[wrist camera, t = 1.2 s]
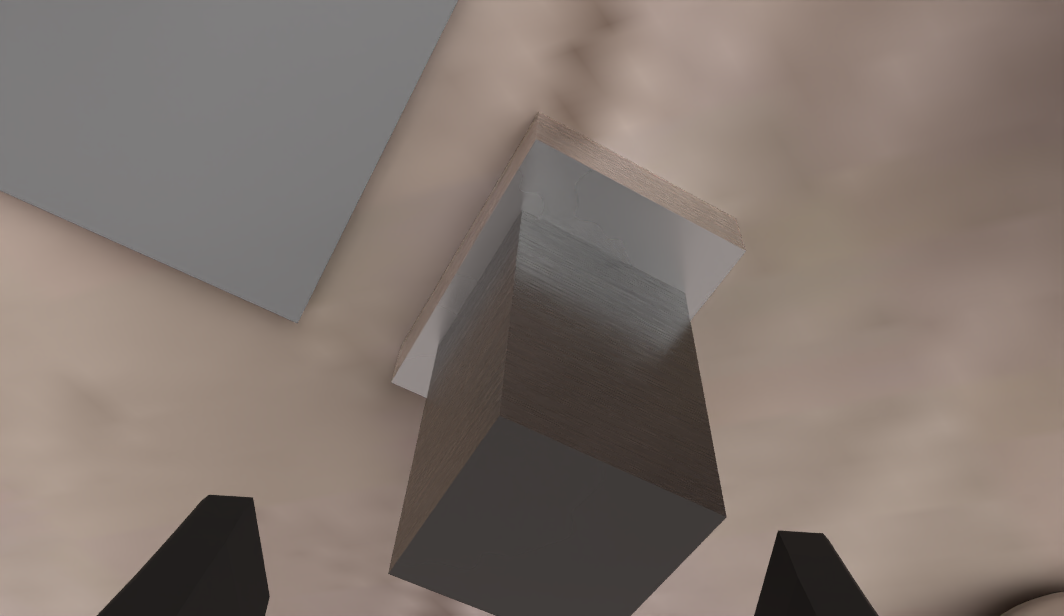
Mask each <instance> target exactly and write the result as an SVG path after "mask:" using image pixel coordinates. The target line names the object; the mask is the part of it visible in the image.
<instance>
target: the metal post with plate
mask: <svg viewBox="0 0 1064 616" xmlns="http://www.w3.org/2000/svg"><path fill="white" fill-rule="evenodd" d="M745 252H746V249H745V246H744V243H743V240H742V237H741V233H740V230H739V227H738V224H737V220H736V218H734V217H733V216H731V215H729V214H727V213H725V212H723V211H721V210H720V209H718V208H716V207H714V206H712V205H710V204H709V203H707V202H705V201H703V200H701V199H699V198H697V197H696V196H694V195H692V194H690V193H688V192H686V191H685V190H683V189H681V188H679V187H677V186H675V185H673V184H672V183H670V182H668V181H666V180H664V179H662V178H661V177H659V176H657V175H655V174H653V173H651V172H649V171H648V170H646V169H644V168H642V167H640V166H638V165H637V164H635V163H633V162H631V161H629V160H627V159H625V158H624V157H622V156H620V155H618V154H616V153H614V152H613V151H611V150H609V149H607V148H605V147H603V146H602V145H600V144H598V143H596V142H594V141H592V140H590V139H589V138H587V137H585V136H583V135H581V134H579V133H578V132H576V131H574V130H572V129H570V128H568V127H566V126H565V125H563V124H561V123H559V122H557V121H555V120H554V119H552V118H550V117H548V116H546V115H544V114H542V113H541V112H538V114H537V116H536V117H535V119H534V121H533V122H532V124H531V126H530V127H529V129H528V131H527V133H526V134H525V136H524V138H523V139H522V141H521V143H520V144H519V146H518V148H517V150H516V151H515V153H514V155H513V156H512V158H511V160H510V162H509V163H508V165H507V167H506V168H505V170H504V172H503V173H502V175H501V177H500V179H499V180H498V182H497V184H496V185H495V187H494V189H493V190H492V192H491V194H490V196H489V197H488V199H487V201H486V202H485V204H484V206H483V208H482V209H481V211H480V213H479V214H478V216H477V218H476V219H475V221H474V223H473V225H472V226H471V228H470V230H469V231H468V233H467V235H466V237H465V238H464V240H463V242H462V243H461V245H460V247H459V248H458V250H457V252H456V254H455V255H454V257H453V259H452V260H451V262H450V264H449V265H448V267H447V269H446V271H445V272H444V274H443V276H442V277H441V279H440V281H439V283H438V284H437V286H436V288H435V289H434V291H433V293H432V294H431V296H430V298H429V300H428V301H427V303H426V305H425V306H424V308H423V310H422V311H421V313H420V315H419V317H418V318H417V320H416V322H415V323H414V325H413V327H412V329H411V330H410V332H409V334H408V335H407V337H406V339H405V340H404V342H403V344H402V346H401V348H400V352H399V355H398V359H397V363H396V366H395V370H394V374H393V377H392V381H391V383H394V384H396V385H398V386H400V387H403V388H405V389H407V390H409V391H412V392H414V393H416V394H418V395H421V396H423V397H425V398H427V399H426V403H425V408H424V412H423V417H422V422H421V426H420V431H419V435H418V440H417V444H416V449H415V454H414V458H413V463H412V467H411V472H410V476H409V481H408V486H407V490H406V495H405V499H404V504H403V508H402V513H401V518H400V522H399V527H398V531H397V536H396V541H395V545H394V550H393V554H392V559H391V563H390V568H389V573H388V574H390V575H393V576H395V577H398V578H400V579H403V580H406V581H408V582H411V583H413V584H416V585H418V586H421V587H424V588H426V589H429V590H431V591H434V592H436V593H439V594H442V595H444V596H447V597H449V598H452V599H454V600H457V601H460V602H462V603H465V604H467V605H470V606H472V607H475V608H478V609H480V610H483V611H485V612H488V613H490V614H493V615H496V616H631V615H632V614H633V613H634V612H635V611H636V610H637V609H638V608H639V607H640V606H641V605H642V603H643V602H644V601H645V600H646V599H647V598H648V597H649V596H650V595H651V594H652V593H653V592H654V591H655V590H656V589H657V588H658V587H659V586H660V585H661V584H662V583H663V582H664V581H665V580H666V579H667V578H668V577H669V576H670V575H671V574H672V573H673V572H674V571H675V570H676V569H677V568H678V566H679V565H680V564H681V563H682V562H683V561H684V560H685V559H686V558H687V557H688V556H689V555H690V554H691V553H692V552H693V551H694V550H695V549H696V548H697V547H698V546H699V545H700V544H701V543H702V542H703V541H704V540H705V539H706V538H707V537H708V536H709V535H710V534H711V533H712V532H713V530H714V529H715V528H716V527H717V526H718V525H719V524H720V523H721V522H722V521H723V520H724V519H725V518H726V512H725V507H724V501H723V496H722V490H721V485H720V480H719V474H718V469H717V463H716V458H715V452H714V447H713V442H712V436H711V431H710V425H709V420H708V414H707V409H706V404H705V398H704V393H703V387H702V382H701V376H700V371H699V366H698V360H697V355H696V349H695V344H694V338H693V333H692V328H691V322H690V321H691V319H692V318H693V317H694V316H695V314H696V313H697V312H698V311H699V309H700V308H701V307H702V306H703V304H704V303H705V302H706V301H707V299H708V298H709V297H710V296H711V294H712V293H713V292H714V291H715V289H716V288H717V287H718V285H719V284H720V283H721V282H722V280H723V279H724V278H725V277H726V275H727V274H728V273H729V272H730V270H731V269H732V268H733V267H734V265H735V264H736V263H737V262H738V260H739V259H740V258H741V257H742V255H743V254H744V253H745Z"/></svg>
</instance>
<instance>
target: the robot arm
mask: <svg viewBox="0 0 1064 616" xmlns="http://www.w3.org/2000/svg"><path fill="white" fill-rule="evenodd" d="M269 597H270V596H269V590H268V584H267V578H266V572H265V566H264V560H263V554H262V548H261V542H260V537H259V531H258V525H257V519H256V513H255V507H254V501H253V498H251V497H236V496H220V495H208V496H207V497H206V498H204V499H203V500H202V501H201V502H200V503H199V504H198V505H197V507H196V508H195V509H194V510H193V511H192V512H191V513H190V515H189V516H188V517H187V518H186V519H185V520H184V521H183V523H182V524H181V525H180V526H179V527H178V528H177V529H176V531H175V532H174V533H173V534H172V535H171V536H170V537H169V539H168V540H167V541H166V542H165V543H164V544H163V545H162V546H161V547H160V549H159V550H158V551H157V552H156V553H155V554H154V555H153V556H152V557H151V559H150V560H149V561H148V562H147V563H146V564H145V565H144V566H143V567H142V568H141V570H140V571H139V572H138V573H137V574H136V575H135V576H134V577H133V578H132V579H131V580H130V581H129V582H128V584H127V585H126V586H125V587H124V588H123V589H122V590H121V591H120V592H119V593H118V594H117V595H116V596H115V597H114V598H113V599H112V600H111V601H110V602H109V603H108V604H107V606H106V607H105V608H104V609H103V610H102V611H101V612H100V613H99V614H98V615H97V616H265V613H266V609H267V605H268V601H269ZM754 616H878V614H877V613H876V611H875V610H874V608H873V607H872V606H871V604H870V603H869V601H868V600H867V598H866V597H865V595H864V594H863V592H862V591H861V589H860V588H859V586H858V585H857V583H856V582H855V580H854V578H853V577H852V575H851V574H850V572H849V571H848V569H847V568H846V566H845V565H844V563H843V561H842V560H841V558H840V557H839V555H838V554H837V552H836V551H835V549H834V547H833V546H832V544H831V543H830V541H829V540H828V539H827V538H826V536H825V535H824V534H823V533H808V532H792V531H778V533H777V536H776V540H775V544H774V547H773V551H772V554H771V558H770V561H769V565H768V568H767V572H766V576H765V579H764V583H763V586H762V590H761V593H760V597H759V600H758V604H757V607H756V611H755V615H754Z"/></svg>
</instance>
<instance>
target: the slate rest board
mask: <svg viewBox="0 0 1064 616" xmlns="http://www.w3.org/2000/svg"><path fill="white" fill-rule="evenodd" d="M457 2H458V0H0V191H2V192H4V193H7V194H9V195H11V196H13V197H16V198H18V199H20V200H22V201H24V202H27V203H29V204H31V205H33V206H36V207H38V208H40V209H42V210H45V211H47V212H49V213H51V214H54V215H56V216H58V217H60V218H63V219H65V220H67V221H69V222H71V223H74V224H76V225H78V226H80V227H83V228H85V229H87V230H89V231H92V232H94V233H96V234H98V235H101V236H103V237H105V238H107V239H110V240H112V241H114V242H116V243H119V244H121V245H123V246H125V247H127V248H130V249H132V250H134V251H136V252H139V253H141V254H143V255H145V256H148V257H150V258H152V259H154V260H157V261H159V262H161V263H163V264H166V265H168V266H170V267H172V268H174V269H177V270H179V271H181V272H183V273H186V274H188V275H190V276H192V277H195V278H197V279H199V280H201V281H204V282H206V283H208V284H210V285H213V286H215V287H217V288H219V289H221V290H224V291H226V292H228V293H230V294H233V295H235V296H237V297H239V298H242V299H244V300H246V301H248V302H251V303H253V304H255V305H257V306H260V307H262V308H264V309H266V310H268V311H271V312H273V313H275V314H277V315H280V316H282V317H284V318H286V319H289V320H291V321H293V322H295V323H298V321H299V319H300V317H301V315H302V313H303V311H304V309H305V307H306V305H307V303H308V301H309V299H310V297H311V295H312V293H313V291H314V289H315V287H316V285H317V283H318V281H319V279H320V277H321V275H322V273H323V271H324V269H325V267H326V265H327V263H328V261H329V259H330V257H331V255H332V253H333V251H334V249H335V247H336V245H337V243H338V241H339V239H340V237H341V235H342V233H343V231H344V229H345V227H346V225H347V223H348V221H349V219H350V217H351V215H352V213H353V211H354V209H355V207H356V205H357V203H358V201H359V199H360V197H361V195H362V193H363V191H364V189H365V187H366V185H367V183H368V181H369V179H370V177H371V175H372V173H373V171H374V169H375V166H376V164H377V162H378V160H379V158H380V156H381V154H382V152H383V150H384V148H385V146H386V144H387V142H388V140H389V138H390V136H391V134H392V132H393V130H394V128H395V126H396V124H397V122H398V120H399V118H400V116H401V114H402V112H403V110H404V108H405V106H406V104H407V102H408V100H409V98H410V96H411V94H412V92H413V90H414V88H415V86H416V84H417V82H418V80H419V78H420V76H421V74H422V72H423V70H424V68H425V66H426V64H427V62H428V60H429V58H430V56H431V54H432V52H433V50H434V48H435V46H436V44H437V42H438V40H439V38H440V36H441V34H442V32H443V30H444V28H445V26H446V24H447V22H448V20H449V18H450V16H451V14H452V12H453V10H454V8H455V6H456V4H457Z"/></svg>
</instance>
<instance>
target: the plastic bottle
mask: <svg viewBox="0 0 1064 616" xmlns="http://www.w3.org/2000/svg"><path fill="white" fill-rule="evenodd" d="M1000 616H1064V592H1058V593H1053V594H1049V595H1045V596H1042V597H1039V598H1035V599H1032V600H1030V601H1027V602H1025V603H1023V604H1020V605H1018V606H1016V607H1014V608H1012V609H1010V610H1009V611H1007V612H1005V613H1004V614H1002V615H1000Z"/></svg>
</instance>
